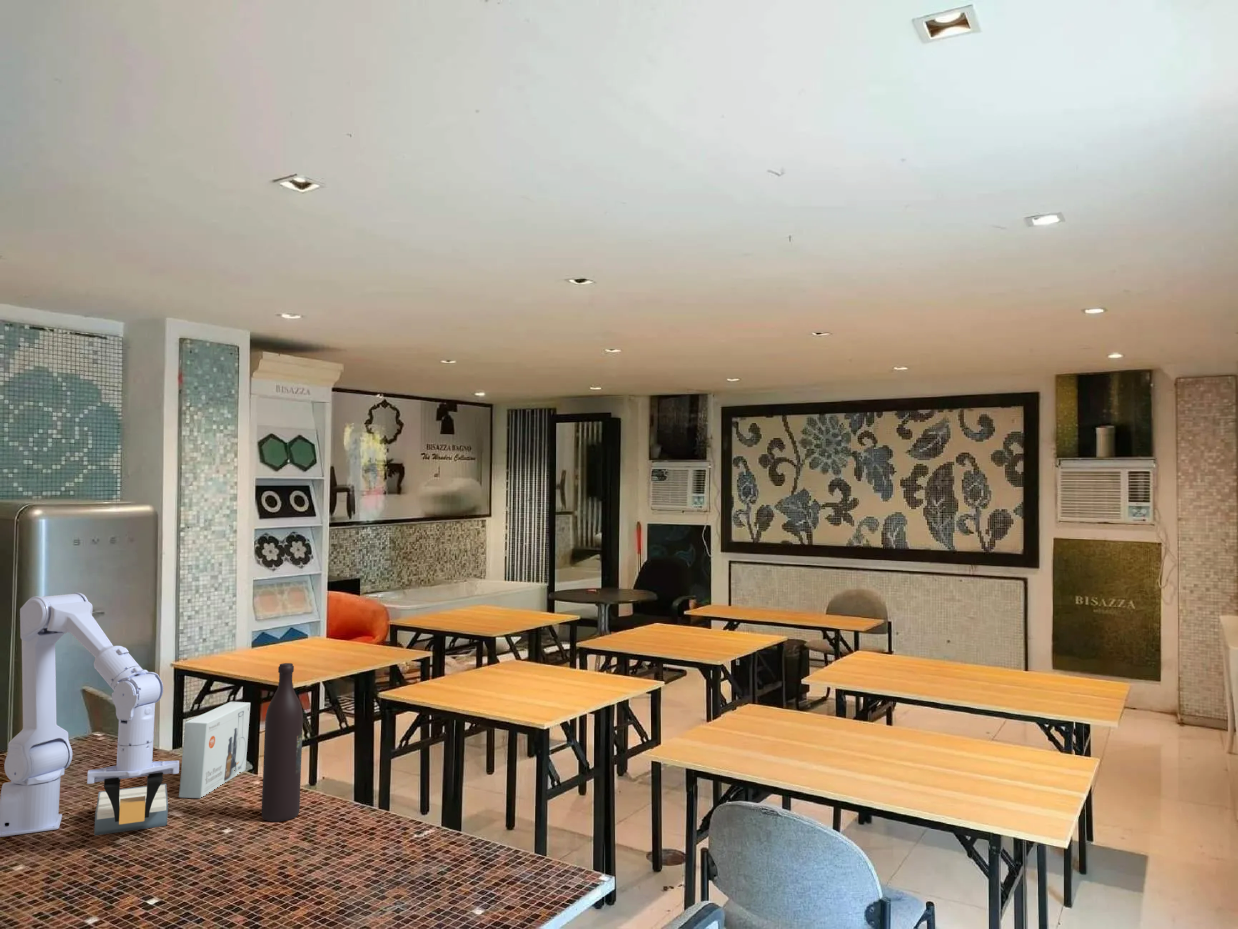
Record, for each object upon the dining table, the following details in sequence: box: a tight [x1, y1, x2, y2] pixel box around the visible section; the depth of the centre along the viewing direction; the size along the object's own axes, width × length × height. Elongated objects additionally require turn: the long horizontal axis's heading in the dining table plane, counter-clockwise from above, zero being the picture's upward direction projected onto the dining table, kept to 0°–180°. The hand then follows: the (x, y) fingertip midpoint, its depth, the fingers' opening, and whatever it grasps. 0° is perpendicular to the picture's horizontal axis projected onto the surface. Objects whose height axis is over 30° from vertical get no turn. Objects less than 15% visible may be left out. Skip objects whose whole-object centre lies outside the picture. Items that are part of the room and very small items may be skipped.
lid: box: [97, 785, 166, 824], centre depth 164 cm, size 11×18×4 cm, turn 29°
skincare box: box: [178, 701, 251, 799], centre depth 192 cm, size 21×6×16 cm, turn 179°
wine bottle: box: [261, 662, 304, 823], centre depth 173 cm, size 7×7×30 cm
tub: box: [93, 783, 169, 837], centre depth 170 cm, size 12×14×4 cm
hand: (132, 818), depth 157 cm, fingers closed on lid, 4 cm apart
